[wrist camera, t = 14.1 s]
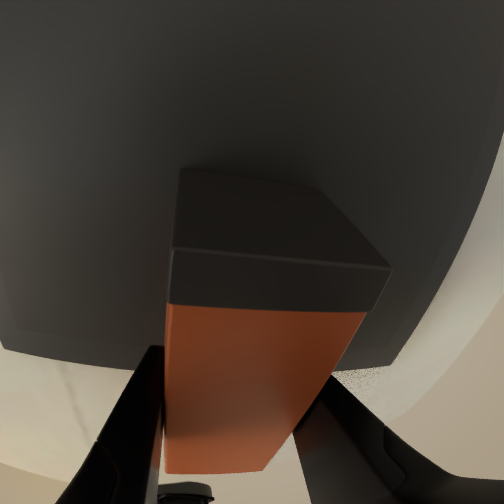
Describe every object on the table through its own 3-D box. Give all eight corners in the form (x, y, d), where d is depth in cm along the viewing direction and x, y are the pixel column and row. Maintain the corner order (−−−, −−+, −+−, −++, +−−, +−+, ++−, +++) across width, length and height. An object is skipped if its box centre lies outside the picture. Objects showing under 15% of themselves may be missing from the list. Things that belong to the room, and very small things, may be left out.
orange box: (179, 167, 7) (170, 247, 4) (321, 189, 8) (396, 268, 5) (161, 395, 11) (164, 475, 8) (248, 396, 12) (264, 472, 9)
